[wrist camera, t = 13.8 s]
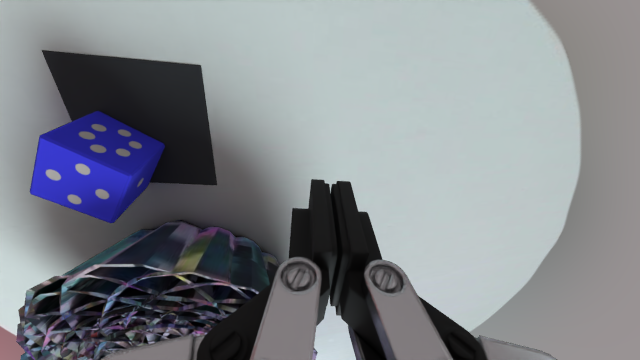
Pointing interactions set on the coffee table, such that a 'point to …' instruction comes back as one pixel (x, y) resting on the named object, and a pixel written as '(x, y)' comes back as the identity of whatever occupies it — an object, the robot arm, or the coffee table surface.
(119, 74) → the pad
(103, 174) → the die
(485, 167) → the coffee table surface
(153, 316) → the decorative bowl
